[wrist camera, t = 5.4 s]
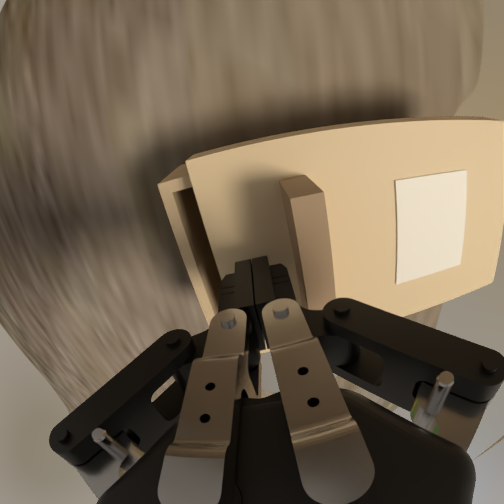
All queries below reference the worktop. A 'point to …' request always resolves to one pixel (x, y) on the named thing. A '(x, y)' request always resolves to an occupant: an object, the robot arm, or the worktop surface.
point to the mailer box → (192, 238)
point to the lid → (362, 208)
